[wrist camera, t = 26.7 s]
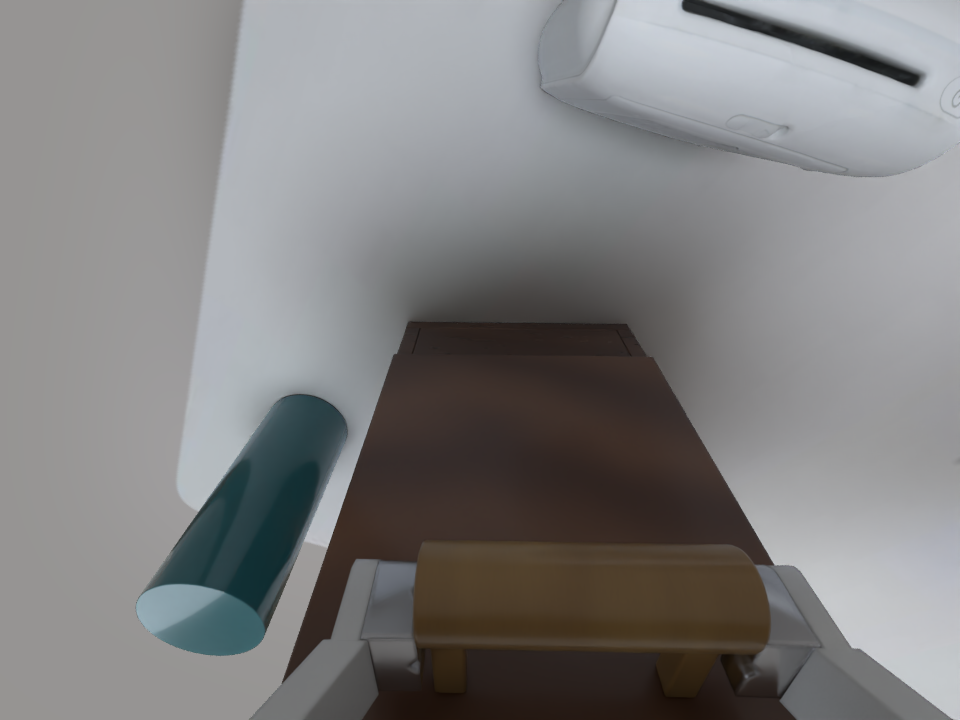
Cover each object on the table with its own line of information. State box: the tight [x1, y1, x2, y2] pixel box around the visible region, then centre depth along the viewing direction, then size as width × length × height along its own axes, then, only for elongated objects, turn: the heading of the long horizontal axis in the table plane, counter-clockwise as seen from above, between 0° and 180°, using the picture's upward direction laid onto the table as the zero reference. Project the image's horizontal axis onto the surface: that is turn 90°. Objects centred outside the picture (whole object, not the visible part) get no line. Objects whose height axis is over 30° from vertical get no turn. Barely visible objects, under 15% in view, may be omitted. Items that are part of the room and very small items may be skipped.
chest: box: [397, 322, 647, 357], centre depth 28 cm, size 16×13×4 cm
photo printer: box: [538, 0, 960, 177], centre depth 15 cm, size 10×4×12 cm, turn 75°
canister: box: [136, 395, 347, 656], centre depth 25 cm, size 5×5×13 cm
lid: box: [282, 354, 796, 720], centre depth 14 cm, size 16×13×5 cm
